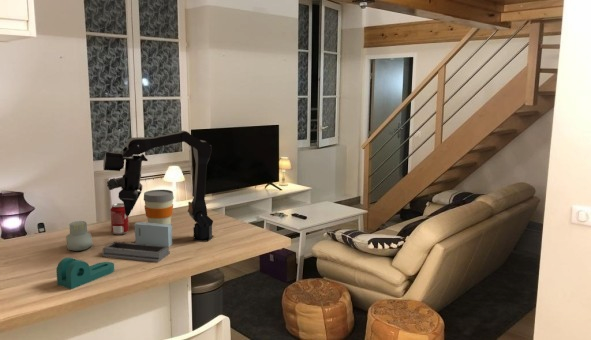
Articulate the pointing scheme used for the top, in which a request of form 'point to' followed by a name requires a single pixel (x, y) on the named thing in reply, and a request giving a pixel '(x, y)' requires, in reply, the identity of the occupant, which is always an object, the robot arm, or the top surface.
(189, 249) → the top surface
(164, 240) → the door panel
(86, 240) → the air freshener
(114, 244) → the floor track
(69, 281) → the bracket
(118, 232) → the soda can
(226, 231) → the top surface
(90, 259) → the top surface
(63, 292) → the top surface
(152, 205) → the reusable coffee cup
